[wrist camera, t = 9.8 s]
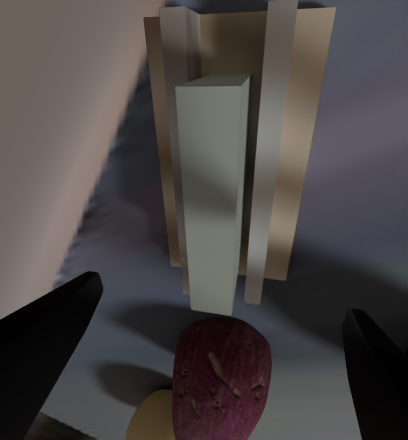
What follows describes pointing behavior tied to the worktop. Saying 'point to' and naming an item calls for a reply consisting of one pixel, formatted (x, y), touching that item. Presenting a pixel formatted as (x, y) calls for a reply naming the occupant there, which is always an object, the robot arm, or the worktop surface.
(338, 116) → the worktop surface
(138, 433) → the yellow rounded lump
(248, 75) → the rectangular block
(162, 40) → the track
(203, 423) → the vegetable
